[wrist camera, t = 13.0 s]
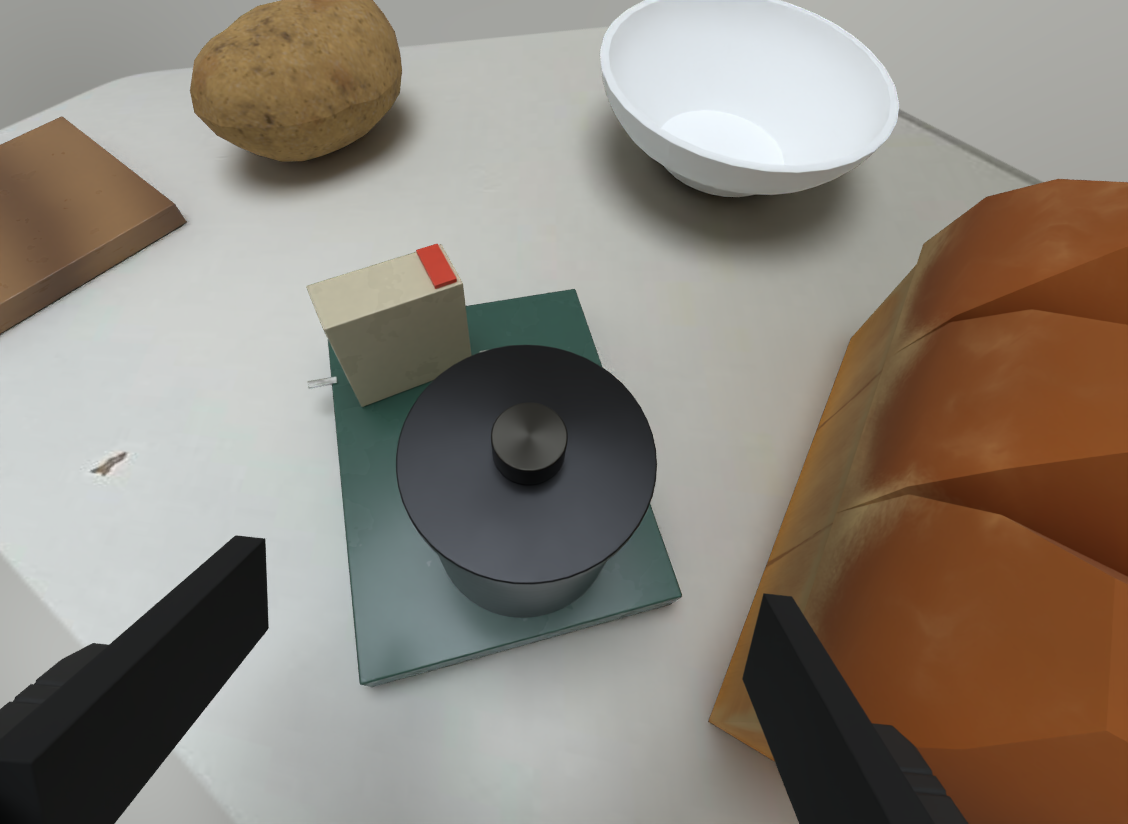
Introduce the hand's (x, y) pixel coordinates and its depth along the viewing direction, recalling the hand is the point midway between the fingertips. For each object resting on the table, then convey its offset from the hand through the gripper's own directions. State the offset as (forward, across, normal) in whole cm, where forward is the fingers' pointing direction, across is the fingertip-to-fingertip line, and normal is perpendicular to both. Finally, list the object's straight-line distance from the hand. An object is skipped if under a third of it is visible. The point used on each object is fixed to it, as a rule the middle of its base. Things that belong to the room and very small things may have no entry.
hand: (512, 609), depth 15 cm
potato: (+31, -18, +14) cm, 39 cm away
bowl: (+34, +11, +17) cm, 39 cm away
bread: (+13, +19, -4) cm, 24 cm away
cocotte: (+11, 0, -3) cm, 11 cm away
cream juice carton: (+16, -7, +2) cm, 18 cm away
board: (+23, -32, +6) cm, 40 cm away
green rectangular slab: (+15, -2, -2) cm, 15 cm away
